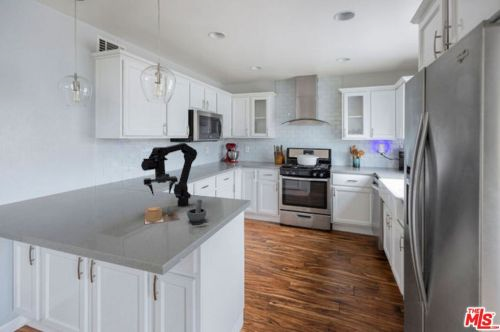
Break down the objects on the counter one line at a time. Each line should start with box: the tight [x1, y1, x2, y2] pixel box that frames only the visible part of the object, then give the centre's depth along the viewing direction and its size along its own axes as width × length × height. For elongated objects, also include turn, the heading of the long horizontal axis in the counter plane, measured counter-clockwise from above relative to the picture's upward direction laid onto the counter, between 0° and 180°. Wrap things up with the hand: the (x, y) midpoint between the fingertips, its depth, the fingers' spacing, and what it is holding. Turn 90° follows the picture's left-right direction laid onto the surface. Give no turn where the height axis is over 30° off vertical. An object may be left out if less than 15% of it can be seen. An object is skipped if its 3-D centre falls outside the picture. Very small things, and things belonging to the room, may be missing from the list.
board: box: [142, 205, 181, 226], centre depth 140 cm, size 18×14×6 cm
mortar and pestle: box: [186, 199, 207, 227], centre depth 136 cm, size 11×9×12 cm
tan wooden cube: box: [144, 206, 163, 222], centre depth 136 cm, size 6×6×6 cm
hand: (161, 194), depth 152 cm, fingers open, 9 cm apart
